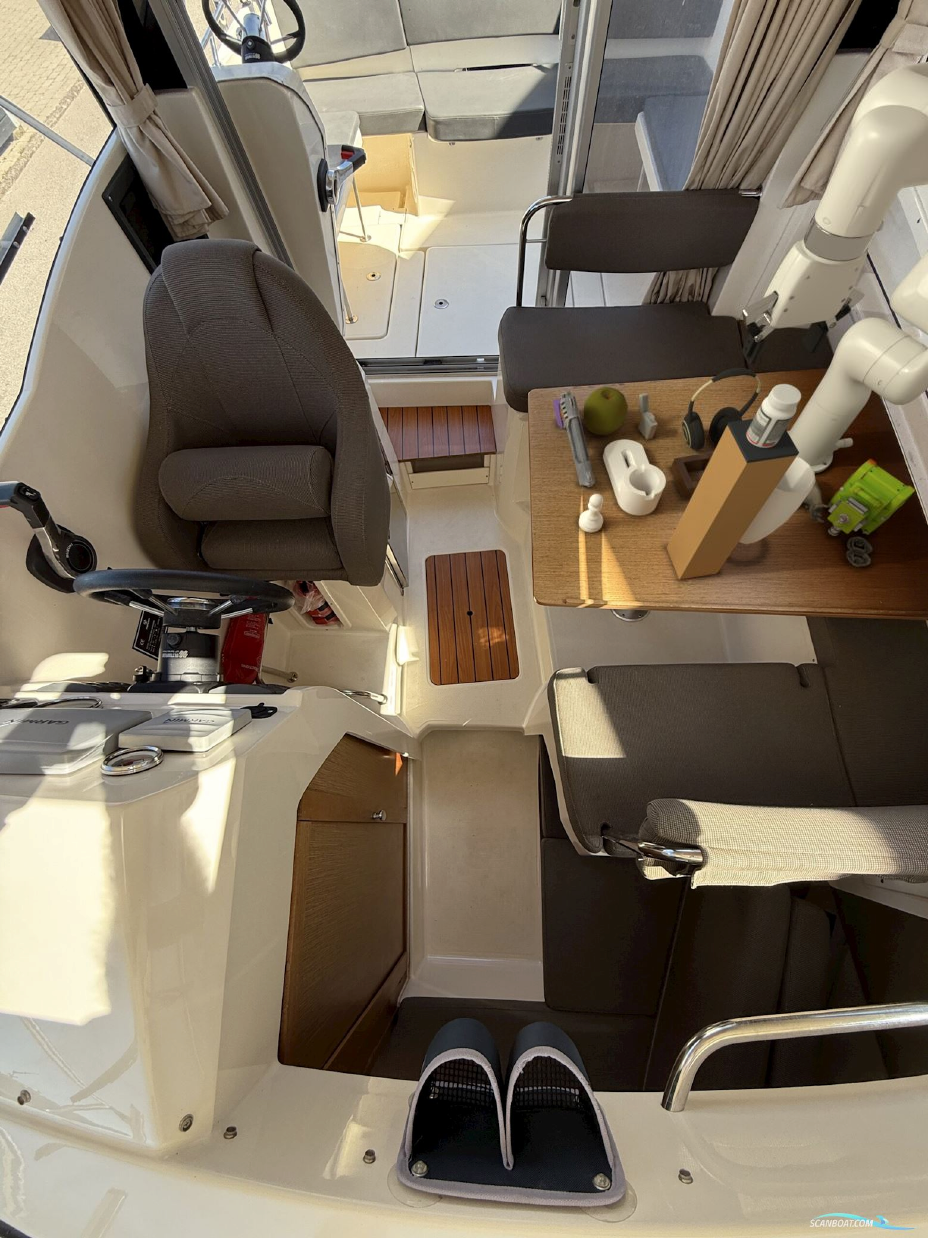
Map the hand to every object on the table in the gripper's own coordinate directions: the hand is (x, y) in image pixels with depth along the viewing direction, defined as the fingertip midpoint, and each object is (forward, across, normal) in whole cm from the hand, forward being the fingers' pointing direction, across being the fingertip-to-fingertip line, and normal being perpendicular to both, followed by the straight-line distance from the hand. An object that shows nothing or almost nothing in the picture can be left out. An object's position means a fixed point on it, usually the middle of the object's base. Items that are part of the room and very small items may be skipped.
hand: (778, 352), depth 87 cm
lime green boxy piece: (+34, -34, +6) cm, 49 cm away
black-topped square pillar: (+40, +5, +11) cm, 42 cm away
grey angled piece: (+41, +3, -27) cm, 49 cm away
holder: (+41, -4, -9) cm, 42 cm away
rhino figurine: (+41, -23, +2) cm, 47 cm away
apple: (+41, +12, -29) cm, 51 cm away
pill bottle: (+6, +5, +11) cm, 13 cm away
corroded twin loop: (+41, -28, +16) cm, 52 cm away
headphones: (+41, -10, -19) cm, 46 cm away
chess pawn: (+40, +23, -2) cm, 46 cm away
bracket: (+41, +10, -12) cm, 44 cm away
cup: (+41, -6, +9) cm, 42 cm away
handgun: (+44, +20, -28) cm, 55 cm away
